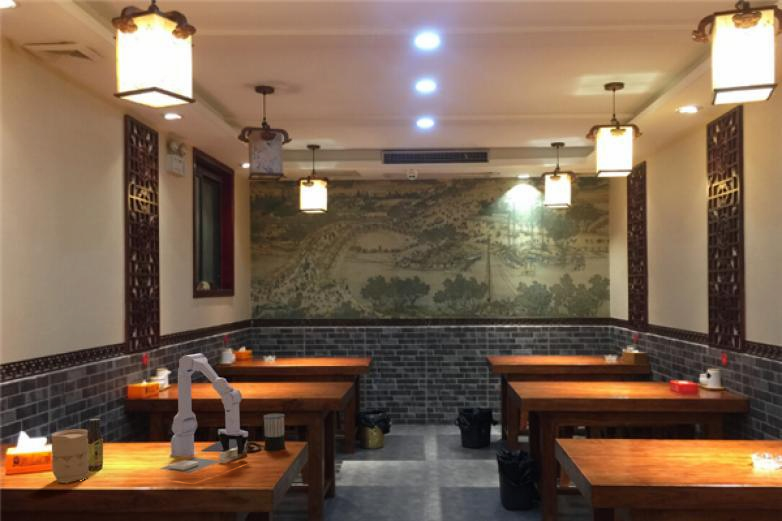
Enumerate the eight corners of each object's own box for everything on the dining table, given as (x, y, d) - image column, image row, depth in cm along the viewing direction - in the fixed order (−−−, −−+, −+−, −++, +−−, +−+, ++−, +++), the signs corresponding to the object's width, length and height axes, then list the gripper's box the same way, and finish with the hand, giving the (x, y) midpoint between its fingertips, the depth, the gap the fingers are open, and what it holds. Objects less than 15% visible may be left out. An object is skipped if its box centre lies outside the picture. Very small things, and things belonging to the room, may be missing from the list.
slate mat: (159, 470, 276) (159, 468, 276) (192, 459, 292) (192, 457, 292) (189, 474, 268) (189, 472, 268) (221, 462, 284) (221, 461, 284)
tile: (183, 460, 282) (169, 465, 275) (198, 461, 278) (184, 466, 271) (184, 463, 282) (169, 468, 275) (198, 465, 278) (184, 470, 271)
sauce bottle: (97, 470, 278) (95, 421, 279) (83, 470, 280) (82, 421, 280) (106, 466, 285) (105, 417, 285) (93, 466, 286) (92, 417, 287)
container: (95, 477, 269) (94, 430, 269) (65, 486, 258) (64, 437, 259) (75, 473, 275) (74, 428, 276) (45, 482, 264) (44, 434, 265)
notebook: (222, 442, 324) (201, 453, 303) (222, 439, 324) (201, 450, 303) (248, 442, 321) (228, 454, 300) (248, 439, 321) (228, 450, 300)
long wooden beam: (242, 455, 294) (242, 445, 294) (247, 456, 293) (246, 445, 293) (219, 464, 282) (219, 452, 282) (224, 464, 281) (223, 453, 281)
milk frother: (290, 448, 305) (289, 414, 306) (264, 456, 292) (263, 420, 293) (267, 444, 313) (266, 411, 314) (240, 452, 301) (239, 418, 301)
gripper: (212, 420, 288) (213, 453, 288) (239, 422, 281) (240, 456, 281) (224, 417, 294) (225, 449, 294) (250, 419, 287) (252, 452, 287)
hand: (233, 453), depth 288 cm, fingers open, 7 cm apart
